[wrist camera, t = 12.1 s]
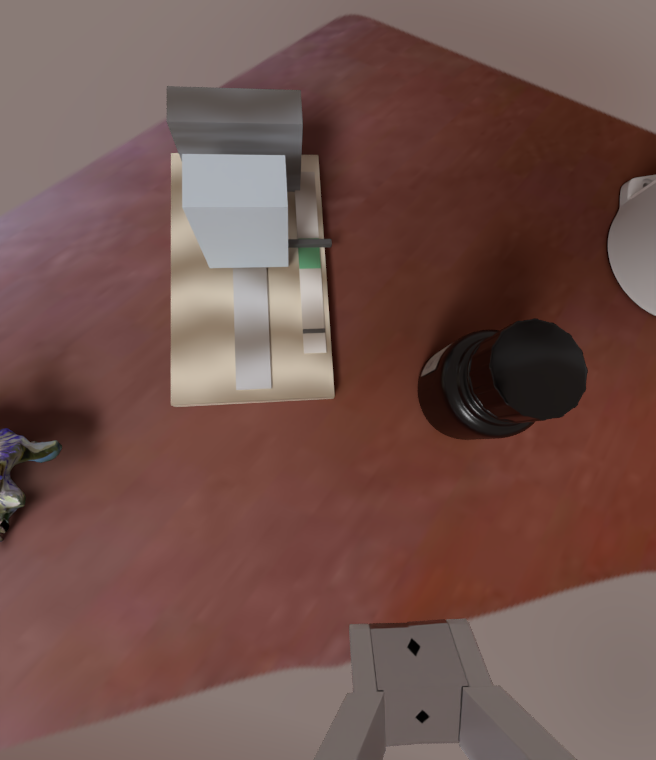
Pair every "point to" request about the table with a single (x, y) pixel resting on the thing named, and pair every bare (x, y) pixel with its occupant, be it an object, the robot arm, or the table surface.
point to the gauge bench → (255, 284)
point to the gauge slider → (240, 209)
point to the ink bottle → (502, 380)
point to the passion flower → (9, 450)
